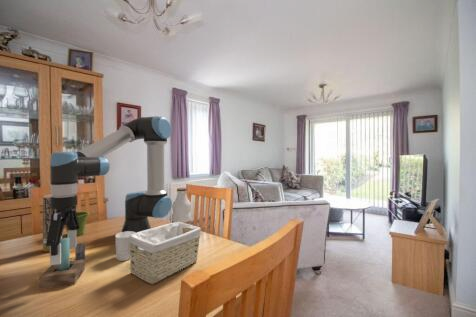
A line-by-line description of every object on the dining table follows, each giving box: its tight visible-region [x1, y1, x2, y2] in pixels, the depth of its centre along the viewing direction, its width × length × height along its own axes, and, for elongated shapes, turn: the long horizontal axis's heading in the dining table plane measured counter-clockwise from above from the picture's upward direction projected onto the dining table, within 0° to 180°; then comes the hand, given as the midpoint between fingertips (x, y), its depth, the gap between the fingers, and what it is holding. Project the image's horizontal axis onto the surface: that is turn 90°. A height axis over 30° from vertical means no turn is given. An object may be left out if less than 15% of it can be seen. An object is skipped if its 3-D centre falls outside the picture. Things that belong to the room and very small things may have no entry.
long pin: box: [58, 237, 71, 271], centre depth 79 cm, size 3×3×14 cm
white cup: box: [114, 231, 135, 262], centre depth 96 cm, size 8×8×10 cm
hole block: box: [38, 258, 86, 290], centre depth 79 cm, size 10×10×4 cm
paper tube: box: [42, 193, 63, 253], centre depth 102 cm, size 7×7×25 cm
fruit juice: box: [171, 187, 192, 234], centre depth 111 cm, size 9×9×28 cm
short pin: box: [74, 242, 86, 261], centre depth 91 cm, size 3×3×7 cm
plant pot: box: [65, 211, 90, 237], centre depth 121 cm, size 12×12×11 cm
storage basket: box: [129, 222, 202, 285], centre depth 88 cm, size 24×16×15 cm
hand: (64, 255), depth 79 cm, fingers open, 13 cm apart
